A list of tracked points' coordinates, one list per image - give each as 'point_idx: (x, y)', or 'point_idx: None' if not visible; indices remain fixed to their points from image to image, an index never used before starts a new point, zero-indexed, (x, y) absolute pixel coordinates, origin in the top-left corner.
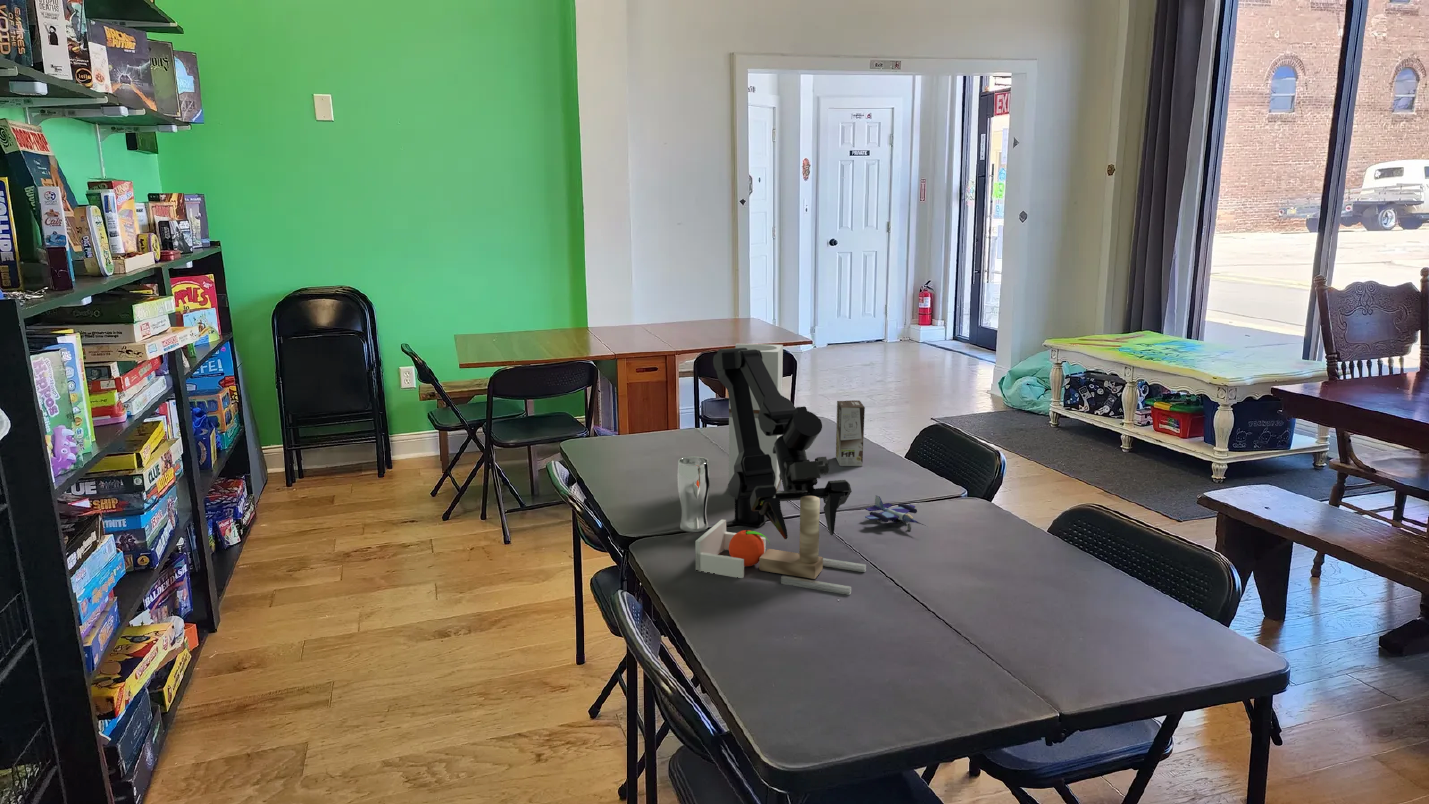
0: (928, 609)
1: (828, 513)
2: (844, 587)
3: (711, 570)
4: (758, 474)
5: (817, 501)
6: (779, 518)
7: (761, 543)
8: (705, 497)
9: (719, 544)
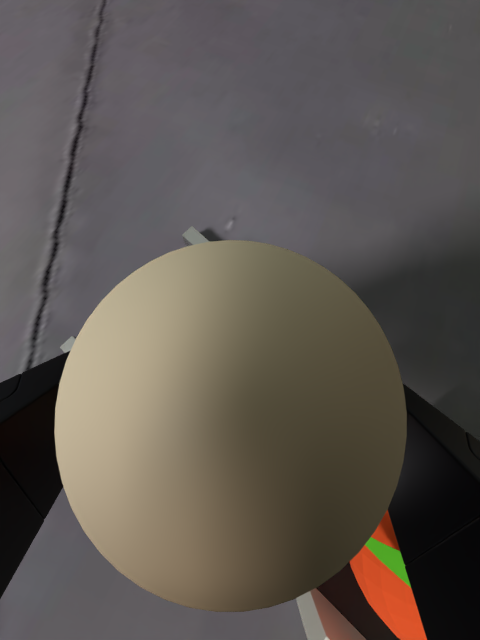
0: (79, 129)
1: (41, 440)
2: (200, 237)
3: None
4: None
5: (173, 256)
6: (464, 440)
7: (389, 518)
8: None
9: None
